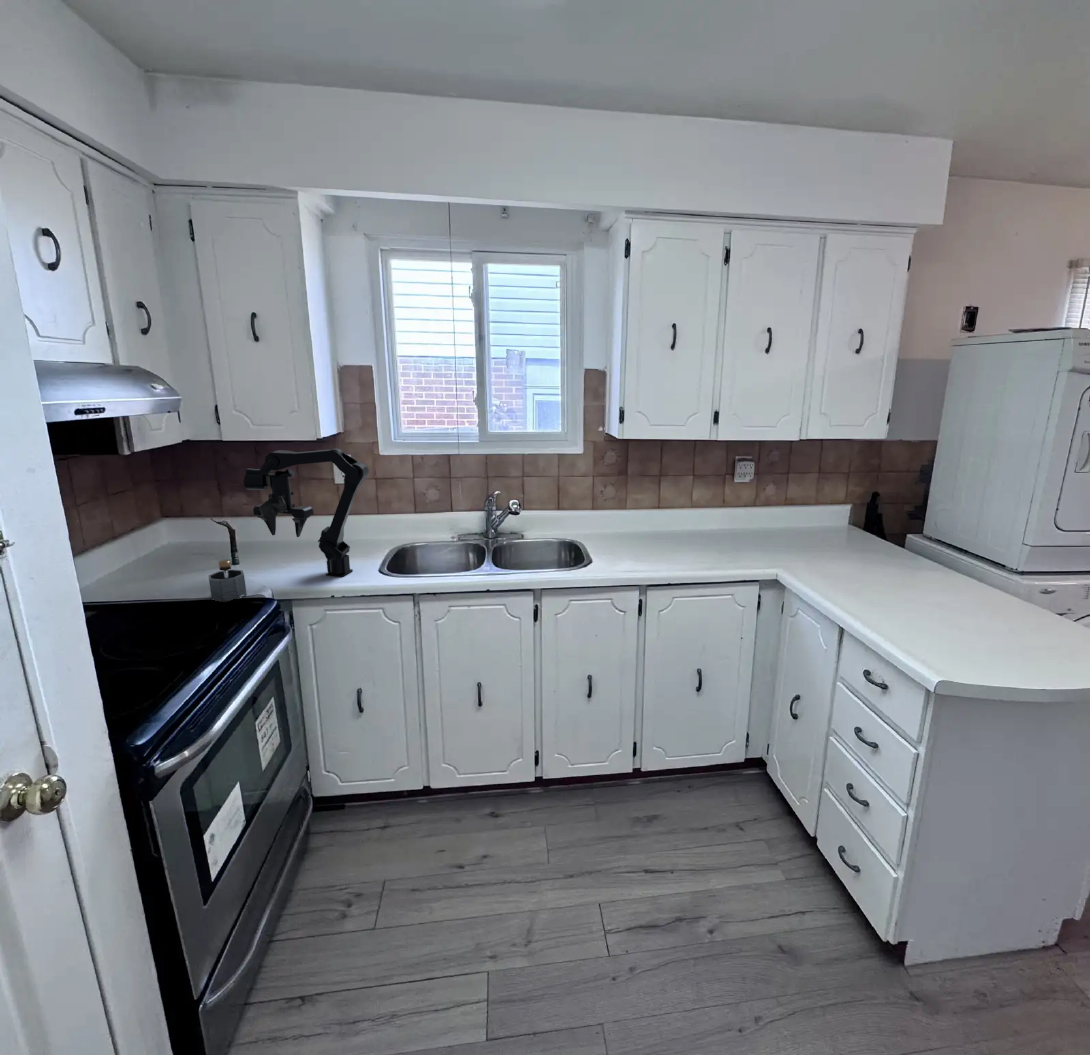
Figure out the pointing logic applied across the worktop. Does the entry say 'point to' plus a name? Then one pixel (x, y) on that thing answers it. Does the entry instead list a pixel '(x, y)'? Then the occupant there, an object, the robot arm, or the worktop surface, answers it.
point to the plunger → (225, 567)
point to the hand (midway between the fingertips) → (285, 536)
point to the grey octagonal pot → (227, 585)
